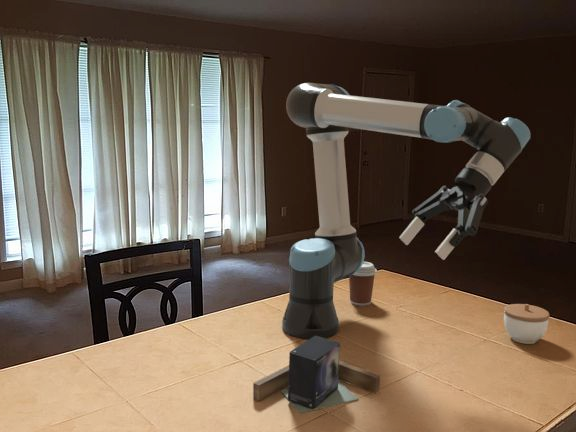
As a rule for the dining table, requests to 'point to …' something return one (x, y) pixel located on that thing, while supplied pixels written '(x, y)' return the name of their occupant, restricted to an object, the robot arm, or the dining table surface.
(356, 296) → the coffee cup
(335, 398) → the pad
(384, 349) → the dining table surface
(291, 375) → the small box
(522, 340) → the lidded jar
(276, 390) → the walnut corner fence
